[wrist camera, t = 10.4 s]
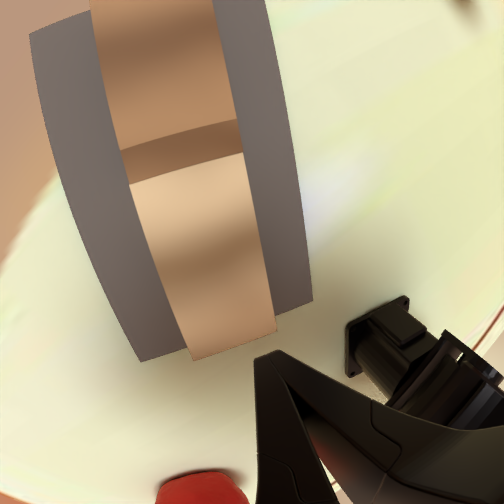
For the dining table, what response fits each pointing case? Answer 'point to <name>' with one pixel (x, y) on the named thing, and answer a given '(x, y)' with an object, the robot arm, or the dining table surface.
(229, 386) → the dining table surface
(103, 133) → the underlay mat
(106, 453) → the dining table surface
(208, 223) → the birch plank
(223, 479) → the pomegranate
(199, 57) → the wooden block
